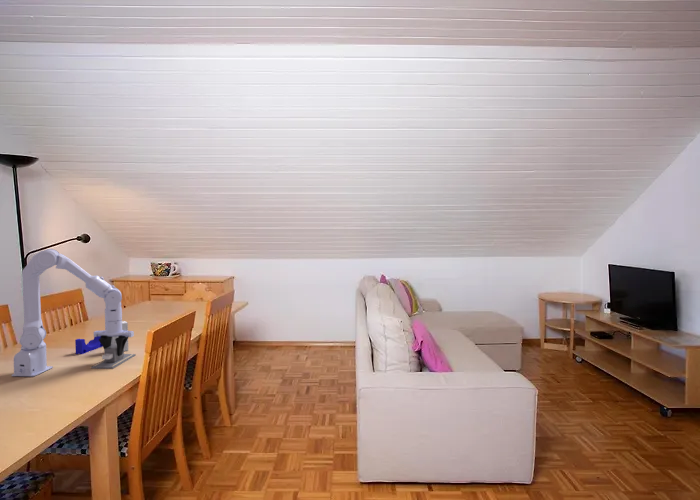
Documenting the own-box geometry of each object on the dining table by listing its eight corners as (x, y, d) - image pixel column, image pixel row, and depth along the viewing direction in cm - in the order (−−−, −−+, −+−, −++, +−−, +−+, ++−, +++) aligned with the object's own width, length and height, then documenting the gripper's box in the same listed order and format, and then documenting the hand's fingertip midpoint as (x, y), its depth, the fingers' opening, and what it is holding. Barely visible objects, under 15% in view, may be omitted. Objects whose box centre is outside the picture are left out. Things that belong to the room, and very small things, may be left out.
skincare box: (125, 348, 181) (125, 320, 180) (128, 350, 178) (128, 322, 177) (109, 351, 177) (109, 322, 176) (112, 353, 174) (111, 324, 173)
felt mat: (112, 368, 155) (112, 366, 155) (91, 368, 155) (91, 366, 155) (135, 355, 171) (135, 353, 171) (115, 355, 171) (115, 353, 171)
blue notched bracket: (94, 345, 185) (94, 332, 184) (103, 346, 184) (103, 332, 184) (72, 354, 173) (72, 339, 173) (82, 354, 172) (81, 340, 172)
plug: (124, 357, 166) (123, 344, 166) (111, 364, 158) (110, 351, 157) (114, 356, 166) (113, 344, 166) (100, 363, 158) (100, 350, 158)
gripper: (137, 318, 166) (138, 352, 167) (101, 317, 166) (101, 351, 167) (128, 322, 159) (128, 357, 160) (89, 321, 159) (90, 357, 160)
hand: (114, 355), depth 163 cm, fingers closed on plug, 4 cm apart
